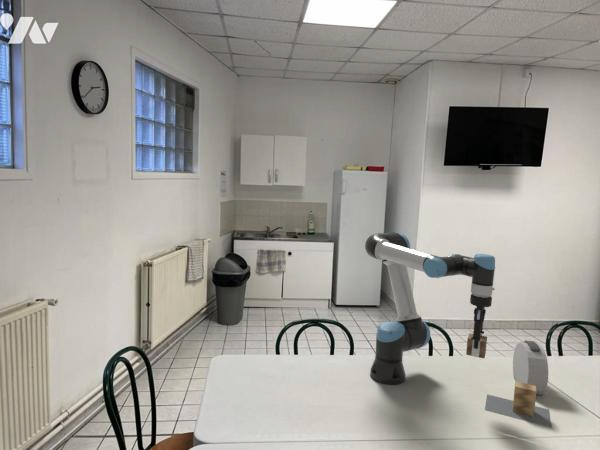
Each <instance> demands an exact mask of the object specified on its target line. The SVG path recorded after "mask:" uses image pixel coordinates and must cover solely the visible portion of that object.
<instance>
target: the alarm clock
mask: <svg viewBox="0 0 600 450" xmlns="http://www.w3.org/2000/svg"><path fill="white" fill-rule="evenodd" d="M548 363H549V362H548V359H547V354H546V352H545V349H544V348H543V346H542V344H539V343H537V342H536V341H533V340H524V342H523V341H520V342H517V343H516V344H515V347H514V351H513V357H512V374H513V379H514V381H516V382H521V383H525V384H529V385H534V386H536V395H538V396H540V395H541V396H543V395H544V394H545V393H546V390H547V388H548V383H549V364H548Z"/></svg>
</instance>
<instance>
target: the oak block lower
mask: <svg viewBox="0 0 600 450" xmlns="http://www.w3.org/2000/svg"><path fill="white" fill-rule="evenodd" d="M512 401H513V412H516V413H520V414H524V415H528V416H532V417H534V409H535V406H536V403H535V404H532V403H528V402H524V401H519V400H515V399H514V398H513V400H512Z"/></svg>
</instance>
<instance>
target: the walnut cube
mask: <svg viewBox="0 0 600 450" xmlns="http://www.w3.org/2000/svg"><path fill="white" fill-rule="evenodd" d="M471 338H473V333H469V334H468V336H467V341H466V353H465V354H466V356H471V353H472V342H473V339H471ZM480 339H481V341H480V352H479V357H478V358H480V359H485V358H486V354H487V353H486V352H487V343H488V336H485V335H482V336H480ZM471 357H472V356H471ZM474 357H475V358H477V357H476V356H474Z"/></svg>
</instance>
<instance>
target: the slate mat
mask: <svg viewBox="0 0 600 450" xmlns="http://www.w3.org/2000/svg"><path fill="white" fill-rule="evenodd" d="M485 400H486V401H485V404H484V405H485V407H484V411H487V412H490V413H494V414H498V415H503V416H506V417H510V418H514V419H517V420H522V421H524V422H528V423H533V424H536V425H539V426H540V425H541V426H543V427H549V428H553V427H552V422H551V414H550V409H549V408H544V407H539V406H537V405H535V409H534V417H532V416H528V415H524V414H520V413H516V412H513V400H512V399H507V398H503V397H500V396H496V395H492V394H486V399H485Z"/></svg>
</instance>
